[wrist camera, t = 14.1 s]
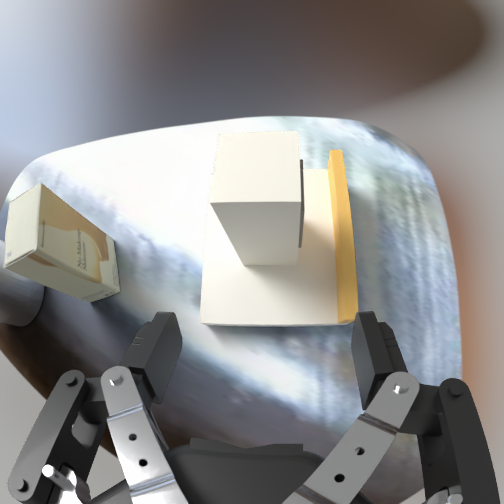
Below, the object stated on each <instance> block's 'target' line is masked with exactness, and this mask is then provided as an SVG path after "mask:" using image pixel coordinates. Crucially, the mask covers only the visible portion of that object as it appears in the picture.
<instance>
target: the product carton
mask: <svg viewBox="0 0 504 504" xmlns="http://www.w3.org/2000/svg"><path fill="white" fill-rule="evenodd" d="M210 204H211V206H212V208H213V210H214V212H215V213H216V215H217V217H218V219H219V221H220V223H221V225H222V227H223V229H224V230H225V232H226V234H227V236H228V238H229V240H230V242H231V244H232V245H233V247H234V249H235V251H236V253H237V255H238V257H239V258H240V260H241V262H242V264H243V265H269V266H297V259H298V248H301V246H302V235H303V224H304V212H305V207H304V176H303V160H300V154H299V133H298V132H250V133H231V134H219V138H218V145H217V152H216V159H215V166H214V173H213V181H212V189H211V197H210Z"/></svg>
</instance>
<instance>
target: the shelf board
mask: <svg viewBox="0 0 504 504" xmlns="http://www.w3.org/2000/svg"><path fill="white" fill-rule="evenodd" d="M303 176H304V207H305V212H304V224H303V235H302V246H301V248H298V259H297V266H269V265H243V264H242V262H241V260H240V258H239V257H238V255H237V253H236V251H235V249H234V247H233V245H232V244H231V242H230V240H229V238H228V236H227V234H226V232H225V230H224V229H223V227H222V225H221V223H220V221H219V219H218V217H217V215H216V213H215V212H214V210H213V208H212V206H211V204H210V197H211V189H212V181H213V173H211V182H210V191H209V202H208V212H207V224H206V235H205V248H204V261H203V276H202V291H201V309H200V323H201V324H204V325H216V326H263V327H287V326H334V325H347V324H349V323H351V322H353V321H355V316H356V313H357V312H358V290H357V274H356V260H355V248H354V237H353V227H352V218H351V210H350V202H349V194H348V187H347V180H346V173H345V166H344V160H343V154H342V150H330V156H329V162H328V168H327V169H303Z"/></svg>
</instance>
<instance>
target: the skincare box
mask: <svg viewBox="0 0 504 504" xmlns="http://www.w3.org/2000/svg"><path fill="white" fill-rule="evenodd" d="M4 268H5V269H7V270H10V271H12V272H14V273H16V274H19V275H21V276H23V277H26V278H28V279H30V280H33V281H35V282H37V283H40V284H42V285H45V286H47V287H50V288H52V289H55V290H57V291H60V292H62V293H65V294H67V295H70V296H73V297H75V298H78V299H81V300H83V301H86V302H93V301H96V300H99V299H103V298H105V297H108V296H111V295H114V294H116V293H118V292H120V285H119V276H118V268H117V261H116V254H115V247H114V240H113V239H112V238H111V237H110V236H108V235H107V234H106V233H104V232H103V231H102V230H100V229H99V228H98V227H96V226H95V225H94V224H92V223H91V222H90V221H88V220H87V219H86V218H85V217H83V216H82V215H81V214H79V213H78V212H77V211H76V210H74V209H73V208H72V207H70V206H69V205H68V204H67V203H65V202H64V201H63V200H62V199H60V198H59V197H58V196H57V195H56V194H54V193H53V192H52V191H51V190H49V189H48V188H47V187H46V186H45V185H43V184H42V183H39V184H37V185H36V186H34V187H33V188H31V189H29V190H28V191H26V192H25V193H23V194H21V195H20V196H18V197H17V198H15V199H14V200H12V201H11V202H10V205H9V212H8V220H7V227H6V233H5V253H4Z"/></svg>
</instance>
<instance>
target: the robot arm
mask: <svg viewBox="0 0 504 504" xmlns="http://www.w3.org/2000/svg"><path fill="white" fill-rule="evenodd" d="M4 253H5V242H4V241H2V240H0V322H2V323H6V324H10V325H15V326H20V327H21V326H26V325H28V324H29V323H30V322H31V321H33V319H34V318H35V317H36V315H37V313H38V311H39V309H40V307H41V304H42V301H43V296H44V287H45V285H42V284H40V283H37V282H35V281H33V280H30V279H28V278H26V277H23V276H21V275H19V274H16V273H14V272H12V271H10V270H7V269H5V268H4ZM351 348H352V355H353V360H354V365H355V370H356V375H357V380H358V386H359V391H360V397H361V402H362V408H363V410H366V411H365V412H364V413H363V415H362V414H361V415H360V416H359V417H358V418H357V419H356V421H355V422H354V423H353V425H352V426H351V427H350V429H349V430H348V431H347V433H346V434H345V435H344V437H343V438H342V439H341V440H340V442H339V443H338V444H337V446H336V447H335V448H334V449H333V450H332V452H331V453H330V454H329V455H328V457H327V458H326V459H324V458H323V457H321V456H319V455H317V454H314V453H311V452H307V451H303V444H272V445H266V446H261V447H255V448H249V449H243V448H240V447H236V446H233V445H230V444H227V443H223V442H220V441H217V440H208V439H199V438H192V437H191V441H190V444H188V445H182V446H178V447H175V448H172V449H169V447H168V446H167V444H166V442H165V440H164V438H163V436H162V434H161V432H160V430H159V428H158V425H157V423H156V421H155V419H154V417H153V414H152V412H151V410H150V406H151V404H152V403H158V404H161V402H162V399H163V397H164V394H165V391H166V389H167V386H168V383H169V381H170V378H171V376H172V373H173V370H174V368H175V365H176V363H177V360H178V358H179V355H180V352H181V350H182V336H181V332H180V329H179V325H178V322H177V318H176V315H175V313H174V312H157V313H156V315H155V317H154V319H153V320H152V322H147V323H146V324H144V325H143V326H142V327H141V328H140V329H139V331H138V332H137V334H136V336H135V338H134V339H133V341H132V344H131V345H130V346H129V348H128V350H127V352H126V353H125V355H124V357H123V359H122V361H121V362H120V364H119V366H115V367H112V368H110V369H108V370H107V371H105V372H104V374H103V375H102V377H96V378H85V376H84V374H83V373H82V372H81V371H79V370H71V371H68V372H66V373H64V374H63V375H62V376H61V377H60V379H59V380H58V382H57V384H56V385H55V387H54V389H53V391H52V392H51V394H50V396H49V398H48V400H47V401H46V403H45V405H44V407H43V409H42V411H41V413H40V414H39V416H38V418H37V420H36V422H35V424H34V426H33V428H32V430H31V432H30V434H29V436H28V438H27V440H26V442H25V444H24V446H23V448H22V450H21V452H20V454H19V456H18V459H17V461H16V463H15V465H14V467H13V470H12V472H11V474H10V477H9V479H8V489H9V492H10V494H11V495H12V497H14V498H15V499H16V500H18V501H19V502H21V503H23V504H373V503H372V502H371V501H370V500H369V499H368V498H367V497H365V496H364V495H363V494H362V493H361V492H360V491H359V490H360V489H361V488H362V486H363V485H364V484H365V482H366V481H367V479H368V478H369V476H370V475H371V474H372V472H373V471H374V469H375V468H376V466H377V465H378V463H379V462H380V460H381V459H382V457H383V455H384V454H385V452H386V451H387V449H388V447H389V446H390V444H391V442H392V441H393V439H394V437H395V436H396V434H397V432H400V433H408V434H416V435H417V439H418V445H419V451H420V457H421V464H422V471H423V479H424V488H425V497H426V501H425V502H424V503H422V504H500V499H499V493H498V488H497V483H496V478H495V473H494V469H493V465H492V461H491V457H490V453H489V449H488V445H487V441H486V438H485V435H484V431H483V428H482V425H481V422H480V419H479V415H478V412H477V409H476V407H475V404H474V401H473V398H472V396H471V392H470V390H469V388H468V386H467V385H466V384H465V383H464V382H463V381H461V380H459V379H456V378H450V379H446V380H444V381H443V382H442V383H441V385H440V386H431V385H424V384H420V383H419V382H418V380H417V379H416V378H415V377H414V376H413V375H411V374H409V373H408V371H407V369H406V366H405V363H404V360H403V357H402V354H401V352H400V349H399V347H398V344H397V341H396V340H395V336H394V333H393V330H392V329H391V328H390V327H389V326H388V325H387V324H386V323H385V322H379V323H378V322H377V319H376V316H375V313H374V312H373V311H369V312H357V313H356V316H355V322H354V328H353V334H352V341H351ZM77 414H79V415H78V417H77V419H76V421H75V424H74V426H73V428H72V425H73V423H74V420H75V418H76V416H77ZM107 423H108V426H109V430H110V433H111V436H112V439H113V443H114V446H115V449H116V452H117V455H118V458H119V460H120V463H121V466H122V469H123V471H124V474H125V477H126V479H124V480H123V481H121V482H119V483H118V484H116V485H115V486H113V487H111V488H110V489H108V490H107V491H105V492H103V493H102V494H100V495H98V496H97V497H95V498H93V499H92V500H91V497H90V495H89V494H90V490H89V486H88V484H87V483H86V481H87V478H88V475H89V472H90V469H91V466H92V463H93V461H94V458H95V455H96V452H97V450H98V447H99V444H100V442H101V439H102V436H103V434H104V431H105V429H106V426H107Z"/></svg>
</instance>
